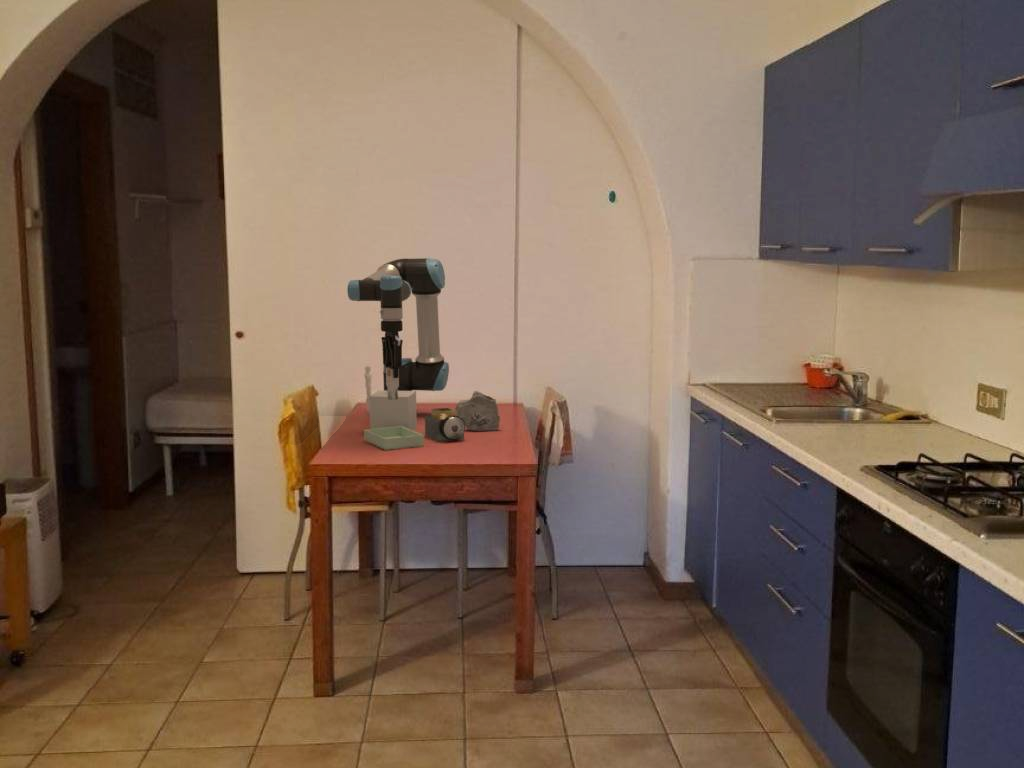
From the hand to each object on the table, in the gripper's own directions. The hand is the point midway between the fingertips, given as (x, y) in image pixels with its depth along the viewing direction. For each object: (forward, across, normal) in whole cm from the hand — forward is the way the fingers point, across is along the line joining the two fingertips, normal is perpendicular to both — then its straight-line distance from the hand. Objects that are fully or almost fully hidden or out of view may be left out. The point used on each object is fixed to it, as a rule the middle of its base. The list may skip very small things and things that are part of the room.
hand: (392, 386), depth 356 cm
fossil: (+21, -7, +37) cm, 43 cm away
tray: (+21, 0, 0) cm, 21 cm away
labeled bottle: (+5, 0, 0) cm, 5 cm away
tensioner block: (+21, +1, +20) cm, 29 cm away
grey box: (+21, -21, +7) cm, 31 cm away
